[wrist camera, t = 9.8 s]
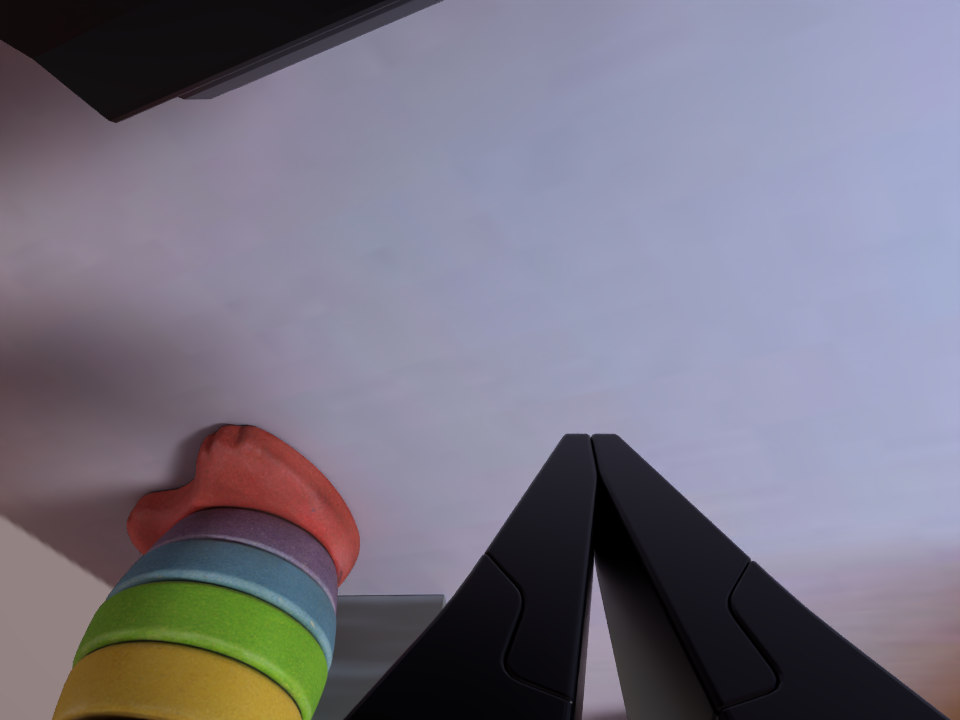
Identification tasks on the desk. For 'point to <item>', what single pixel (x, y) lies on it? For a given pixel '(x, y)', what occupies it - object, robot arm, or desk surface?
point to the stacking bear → (222, 594)
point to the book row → (370, 645)
